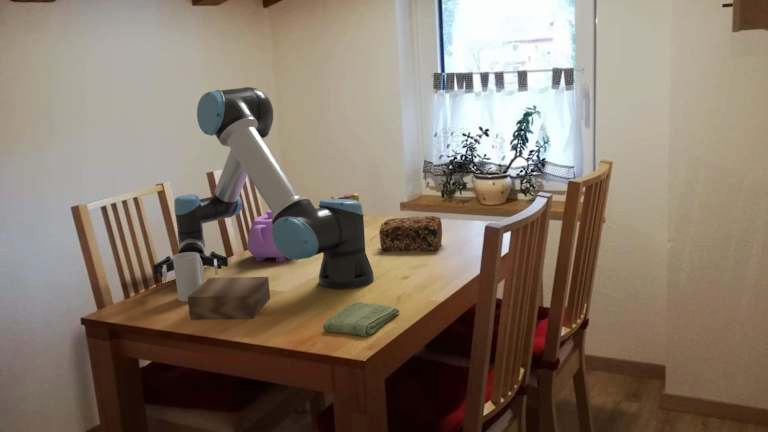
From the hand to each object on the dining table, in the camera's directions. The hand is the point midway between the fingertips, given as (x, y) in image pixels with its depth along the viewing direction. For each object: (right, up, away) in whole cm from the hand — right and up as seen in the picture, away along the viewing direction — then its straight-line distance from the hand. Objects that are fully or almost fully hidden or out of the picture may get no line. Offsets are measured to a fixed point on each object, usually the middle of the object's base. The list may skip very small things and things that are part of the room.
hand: (190, 273), depth 215 cm
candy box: (+40, +7, +55) cm, 68 cm away
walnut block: (+13, -8, -10) cm, 19 cm away
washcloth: (+47, -10, -26) cm, 54 cm away
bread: (+61, +5, +40) cm, 73 cm away
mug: (0, -7, +2) cm, 7 cm away
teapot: (+19, +2, +36) cm, 41 cm away
